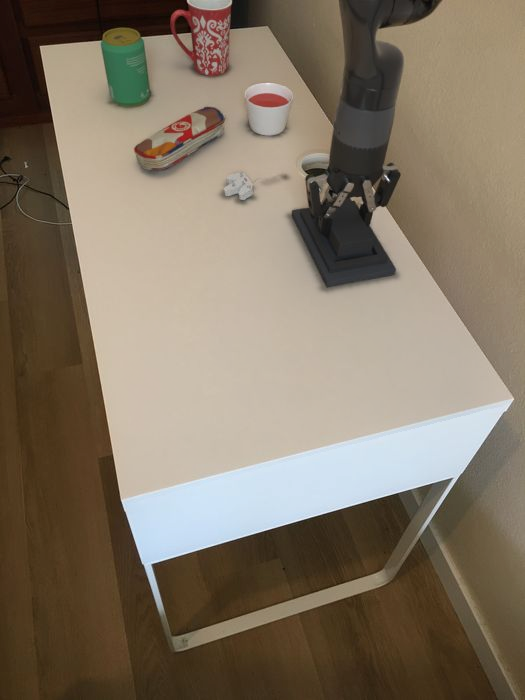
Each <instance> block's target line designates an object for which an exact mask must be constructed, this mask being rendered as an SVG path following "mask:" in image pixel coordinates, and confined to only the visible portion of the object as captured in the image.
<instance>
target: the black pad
mask: <svg viewBox="0 0 525 700" xmlns="http://www.w3.org/2000/svg"><path fill="white" fill-rule="evenodd" d="M352 201H353V200H352V199H351V198H349V199H345V200H344V202H343V203H342V205H341V207H340V208H337V209H336V211H335V212H334V214H333V216H332V218H333V219H332V225H331V229H330V235H329V237H327V238H328V240H329V241H330V243H331V245H332V247H333V249H334V251H335V253H336V255H337V257H340V256H345V255H351V254H357V253H363V252H368V251H371V250H372V246H373V242H374V237H373V235H372V234H371V232H370V230H369V229H368V227H367V225H366V224H365V222H364V221H363V219H362V218H361V216H360V214H359V212H358V210H357V209H356V207H355V205H354V204H353V202H352ZM321 202H322V201H320V204H321ZM317 219H318V221H319V217H317Z"/></svg>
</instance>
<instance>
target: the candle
mask: <svg viewBox="0 0 525 700" xmlns="http://www.w3.org/2000/svg"><path fill="white" fill-rule="evenodd" d="M293 99H294V94H293V92H292V90H291V89H290V88H288V87H287V86H284V85H283V84H278V83H275V82H261V83H255V84H253V85H250V86H249V87H248V88H246V89H245V91H244V100H245V106H246V112H247V120H248V124H249V128H250V129H251V131H253V132H254V133H256V134H258V135H262V136H269V137H270V136H276V135H280V134H281V133H282V132H284V131H285V129H286V126H287V122H288V119H289V115H290V112H291V108H292V103H293Z"/></svg>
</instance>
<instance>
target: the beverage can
mask: <svg viewBox="0 0 525 700" xmlns="http://www.w3.org/2000/svg"><path fill="white" fill-rule="evenodd" d="M100 49H101V54H102V59H103V65H104V70H105V75H106V81H107V86H108V92H109V96H110V98H111V99H112V100H113V102H114V103H115V104H116V105H117V106H119V107H123V108H136V107H140V106H142V105H144V104H146V103H147V102H148V100H149V97H150V96H151V87H150V78H149V72H148V71H149V70H148V63H147V56H146V47H145V41H144V39H143V38H142V37H141V34H140V32H139V31H138V30H136V29H134V28H131V27H115V28H111V29H108V30H107V31H105V32H104V33H103V34H102V39H101V42H100Z"/></svg>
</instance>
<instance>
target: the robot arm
mask: <svg viewBox="0 0 525 700" xmlns="http://www.w3.org/2000/svg"><path fill="white" fill-rule="evenodd" d="M442 2H443V0H338V4H339V13H340V20H341V27H342V29H341V30H342V39H343V53H344V54H343V55H344V67H343V73H342V81H341V88H340V94H339V97H338V102H337V105H336V109H335V114H334V120H333V123H332V128H333V129H332V136H331V143H330V149H329V156H328V157H329V158H328V166H327V168H326V169H325V171H324V172H323V173H324V174H320V175H317V176H314V175H313V174H312V173H309V174H307V175H306V176H304V177H305V178H304V180H305V181H304V182H305V189H306V197H307V199H306V200H307V206H308V207H309V208H310V210H311V212H312V214H313V216H314V217H315V218H317V217H319V221H318V228H319V230H320V232H321V234H323V235H324V237H329V235H330V229H331V225H332V219H333V218H332V216H333V214H334V212H335V211H336V209H337V208H340V207H341V205H342V203H343V202H344V200H345V199H349V198H350V199H351V198H361V201H362V203H360V204H359V214H360V216H361V218H362V219H363V221H364V222H365V224H366V225H367V227H369V225H370V226H371V223H372V218H373V214H374V212H375V211H376V210H377V208H379V207H381V208H386V207H387V206H388V204H389V202H390V201H391V198H392V197H393V196H392V195H393V193H394V191H395V189H396V187H397V185H398V183H399V180H400V178H401V172H400V171H399V169H398V168H397V166H396V165H395V163H393V162H389V163H387V164H386V165H384V164H385V161H386V156H387V152H388V147H389V143H390V139H391V135H392V130H393V126H394V121H395V115H396V106H397V105H396V104H397V100H398V95H399V91H400V87H401V81H402V77H403V73H404V67H405V57H404V56H405V55H404V54H403V51H402V50H401V48H399V47H398V46H396V45H395V44H393V43H390V42H387V41H384V40H378V39H377V33H378V31H379V30H381V29H382V30H383V29H388V28H389V29H390V28H395V27H403V26H408V25H412V24H413V25H414V24H416V23H418V22H421V21H422V20H424V19H426V18H427V17H429V16H431V15H432V14H433V13H434V12H435V10H437V9H438V7H439V6H440V4H442ZM378 181H379V182H378ZM377 182H378V184H377V187H376V189H375V192H374V190H373V187H374V186H375V184H376V183H377ZM326 184H327V185H328V186H327V187H326V189H325V191H324V197H323V198H322V200H321V195H320V194H322V193H323V190H324V187H325V185H326ZM320 202H321V204H320Z"/></svg>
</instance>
